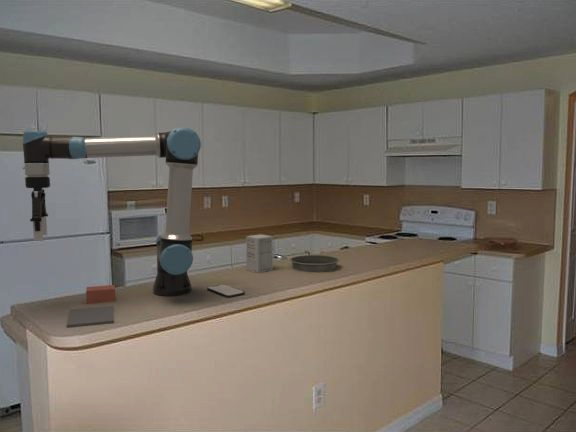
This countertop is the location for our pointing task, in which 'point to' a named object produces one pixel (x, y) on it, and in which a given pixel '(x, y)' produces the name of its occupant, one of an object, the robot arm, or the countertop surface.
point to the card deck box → (100, 294)
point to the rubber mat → (90, 316)
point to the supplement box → (259, 253)
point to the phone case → (225, 291)
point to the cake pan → (314, 263)
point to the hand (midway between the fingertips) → (40, 237)
